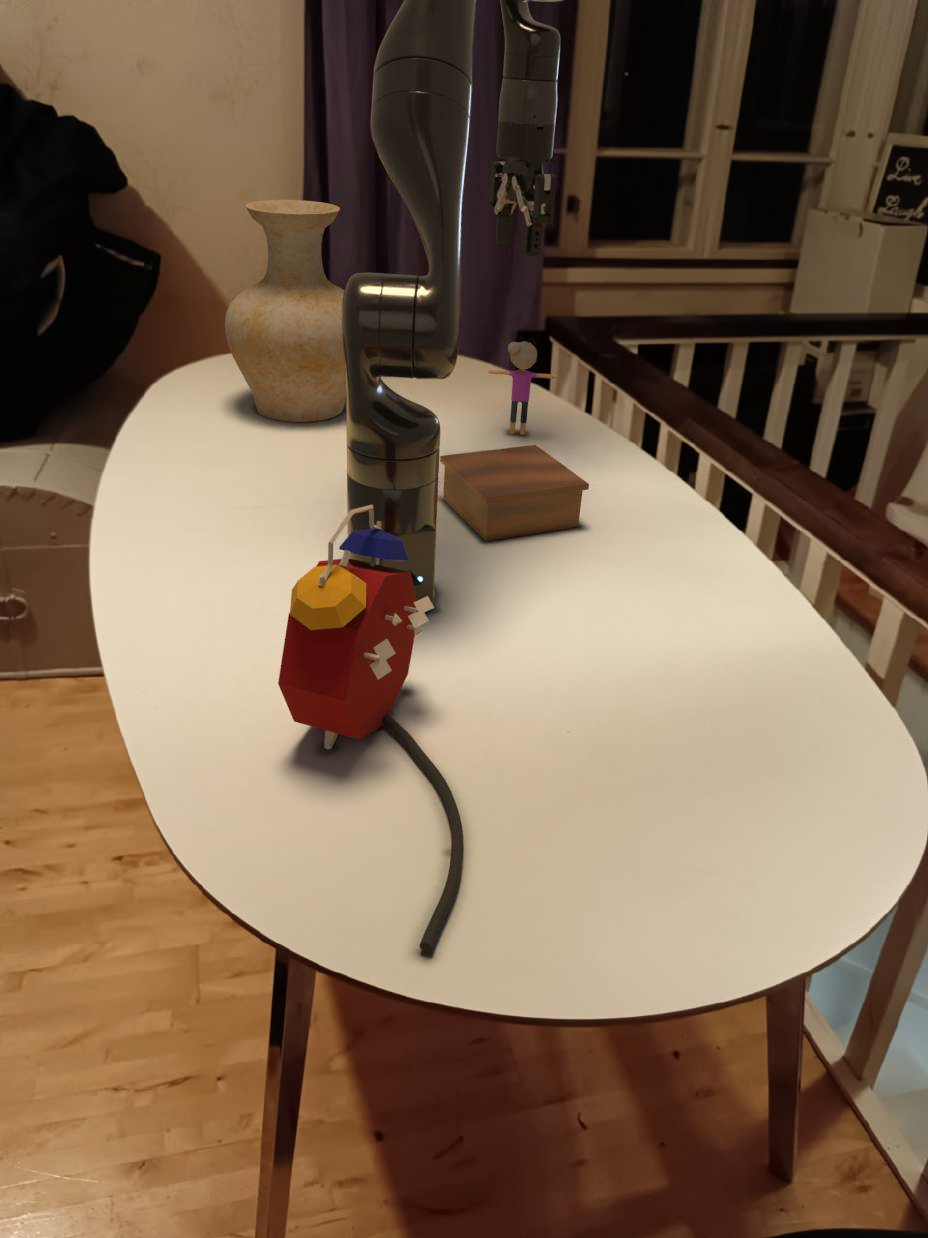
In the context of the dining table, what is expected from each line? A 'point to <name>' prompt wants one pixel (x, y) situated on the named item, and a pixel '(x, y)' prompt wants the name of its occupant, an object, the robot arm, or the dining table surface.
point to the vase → (291, 318)
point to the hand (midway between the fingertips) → (516, 249)
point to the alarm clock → (351, 635)
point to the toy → (521, 378)
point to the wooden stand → (512, 491)
